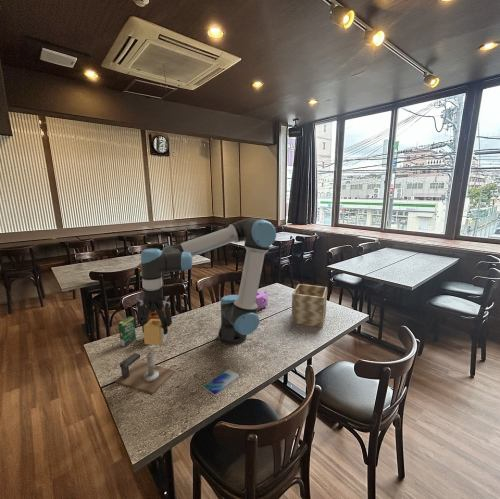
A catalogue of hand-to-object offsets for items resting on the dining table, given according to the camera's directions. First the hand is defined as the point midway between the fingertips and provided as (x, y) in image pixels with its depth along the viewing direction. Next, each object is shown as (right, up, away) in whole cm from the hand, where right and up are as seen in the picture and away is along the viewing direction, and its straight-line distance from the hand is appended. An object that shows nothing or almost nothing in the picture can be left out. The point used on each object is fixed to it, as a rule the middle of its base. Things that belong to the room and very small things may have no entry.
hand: (155, 340), depth 113 cm
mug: (-10, -9, +34) cm, 36 cm away
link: (+1, +1, +5) cm, 5 cm away
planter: (+76, -4, +54) cm, 93 cm away
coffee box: (-23, -11, +27) cm, 37 cm away
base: (-5, -16, +1) cm, 17 cm away
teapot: (+44, -2, +70) cm, 83 cm away
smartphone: (+28, -17, -2) cm, 33 cm away
